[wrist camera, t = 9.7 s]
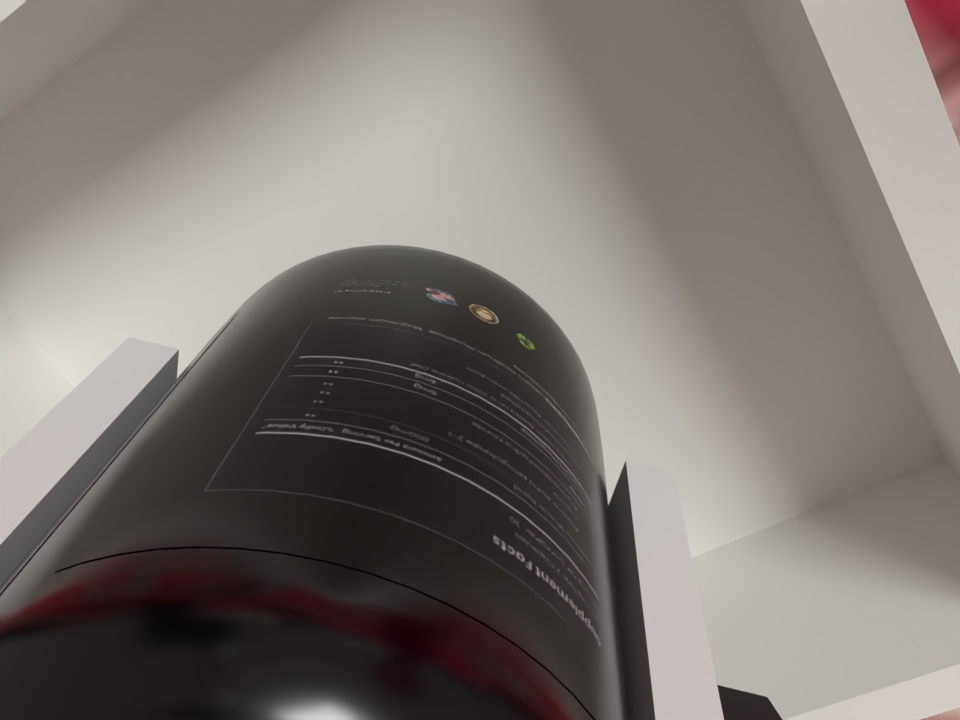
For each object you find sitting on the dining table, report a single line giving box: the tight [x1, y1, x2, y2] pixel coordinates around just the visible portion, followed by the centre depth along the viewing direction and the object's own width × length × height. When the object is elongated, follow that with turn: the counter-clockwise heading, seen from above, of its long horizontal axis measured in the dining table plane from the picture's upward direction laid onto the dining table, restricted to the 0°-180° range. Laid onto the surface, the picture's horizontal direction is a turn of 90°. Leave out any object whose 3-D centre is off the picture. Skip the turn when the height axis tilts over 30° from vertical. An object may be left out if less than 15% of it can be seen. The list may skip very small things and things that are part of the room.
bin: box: [0, 0, 960, 720], centre depth 16 cm, size 18×18×6 cm
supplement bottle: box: [0, 245, 630, 720], centre depth 10 cm, size 7×7×12 cm
